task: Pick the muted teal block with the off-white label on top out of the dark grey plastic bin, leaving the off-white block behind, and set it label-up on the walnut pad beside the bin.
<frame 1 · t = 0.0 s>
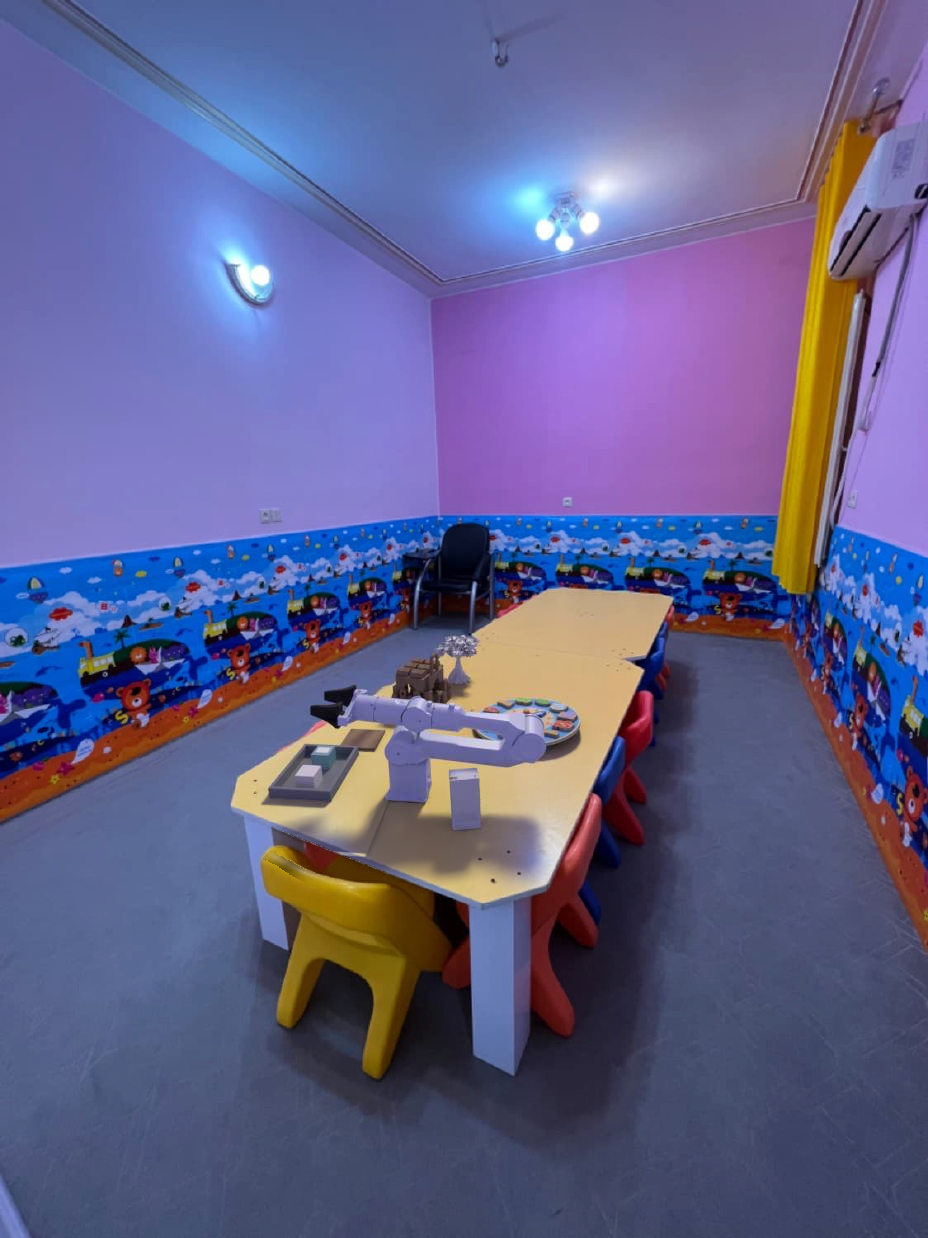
hand: (317, 702, 109), 22 cm above the table, tool horizontal, fingers open, 7 cm apart
tree: (458, 680, 176), on the table
labelled block: (324, 764, 123), resting on bin
pad: (363, 742, 135), on the table
skincare box: (465, 825, 101), on the table
shape sorting clock: (526, 729, 141), on the table
plain block: (309, 785, 115), resting on bin
brown wooden block structure: (422, 706, 156), on the table
bin: (317, 776, 119), on the table
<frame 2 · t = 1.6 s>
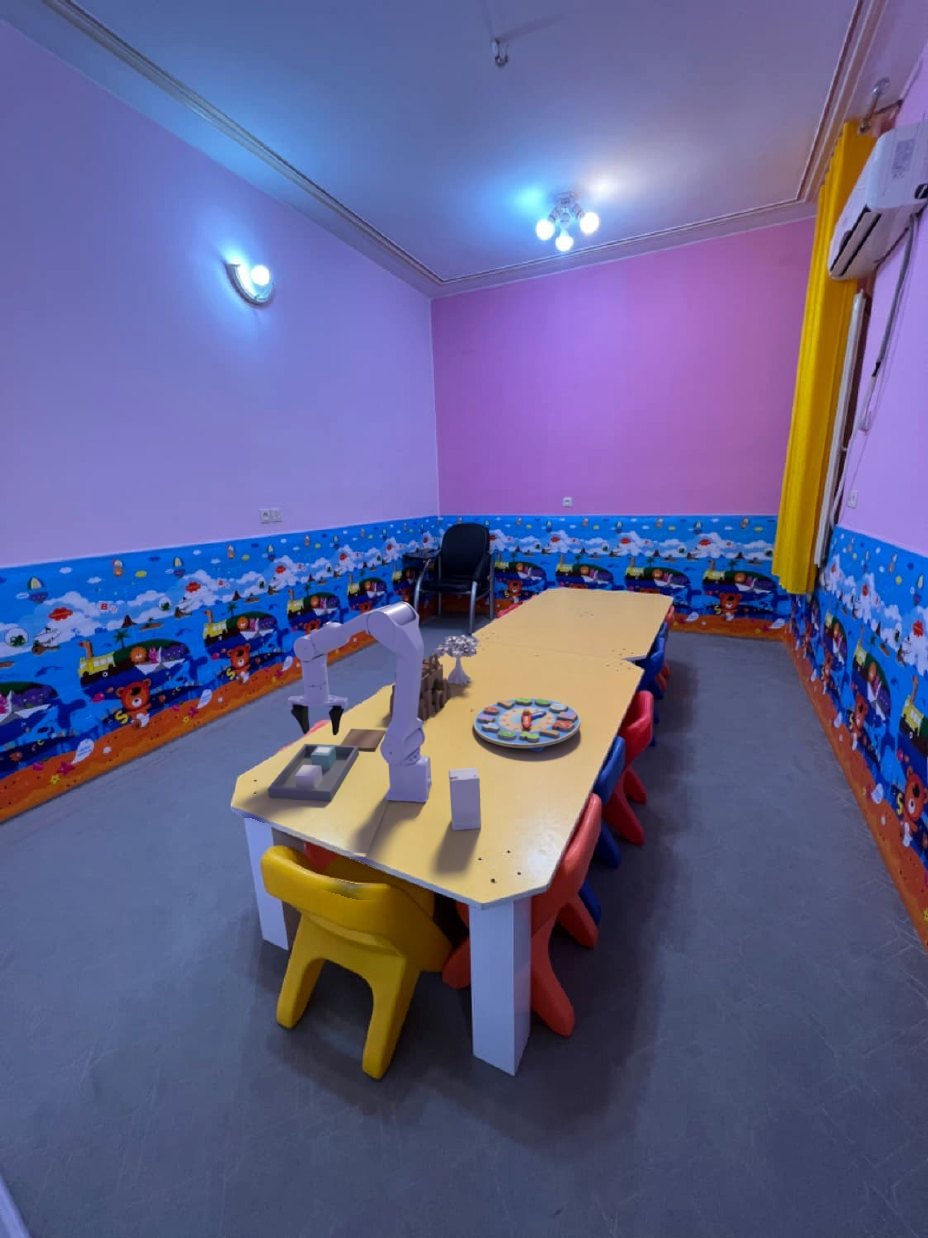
hand: (321, 732, 121), 9 cm above the table, tool pointing down, fingers open, 7 cm apart
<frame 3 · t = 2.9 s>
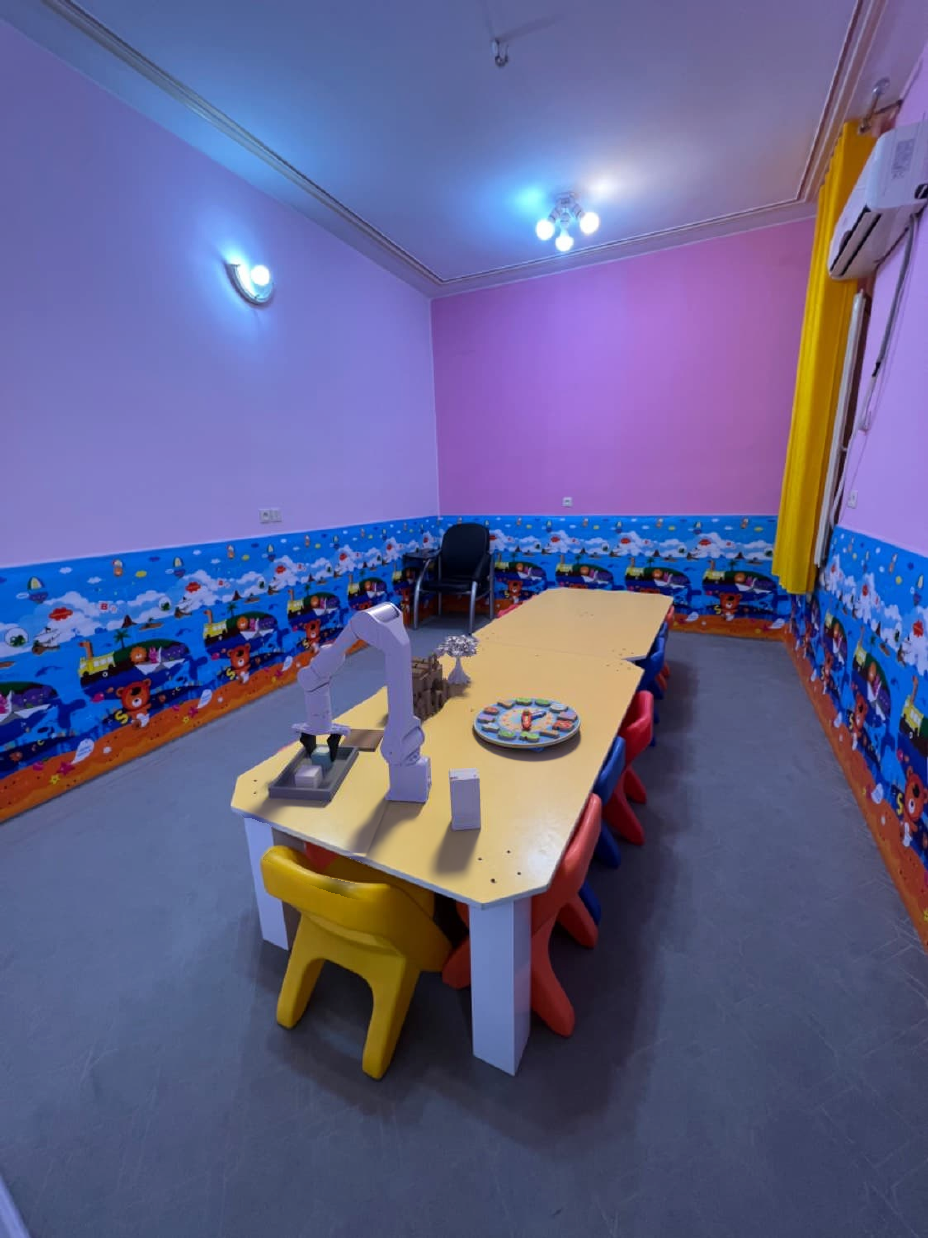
hand: (324, 759, 123), 2 cm above the table, tool pointing down, fingers closed on labelled block, 4 cm apart
labelled block: (324, 764, 123), resting on bin, touching gripper
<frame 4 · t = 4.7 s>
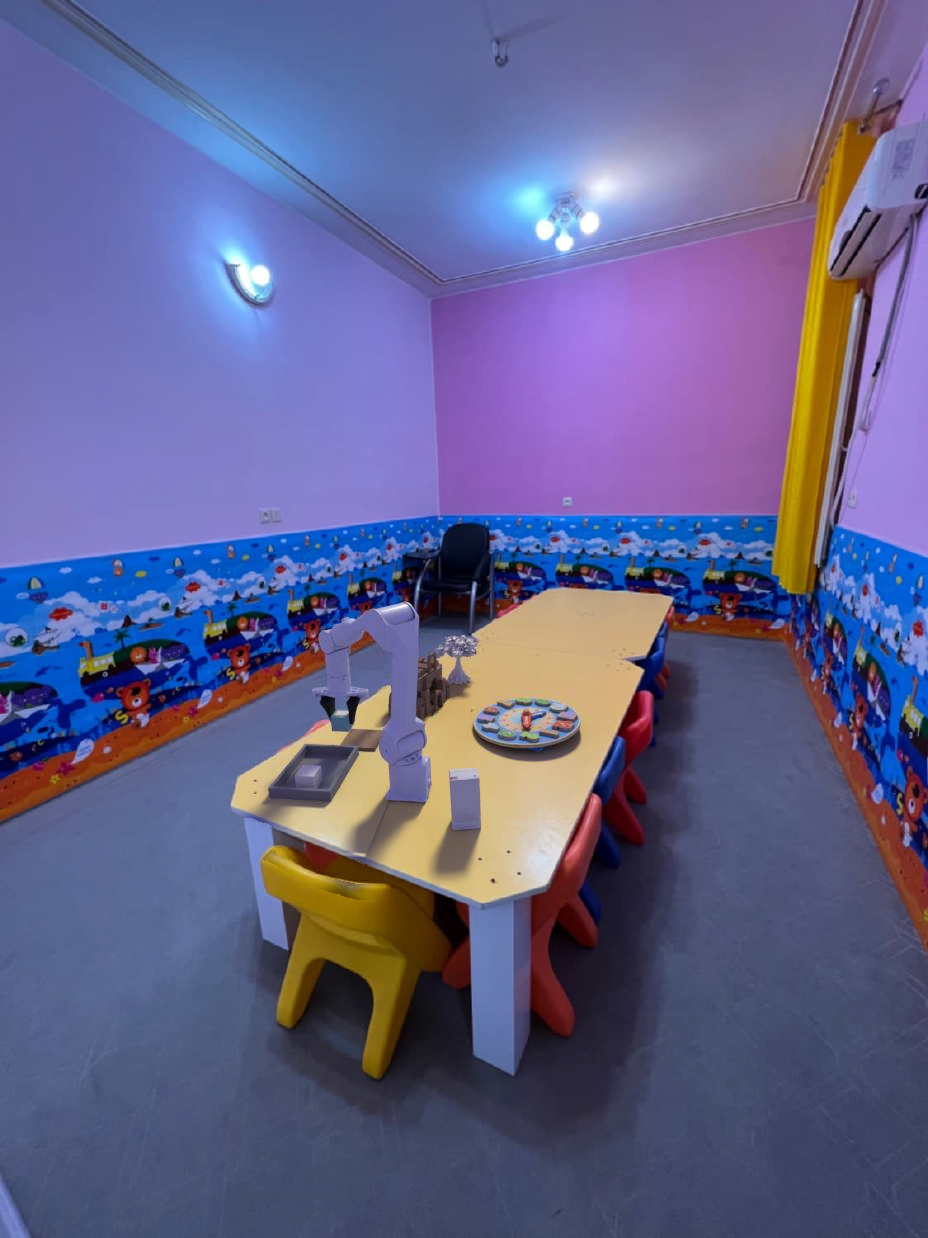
hand: (343, 722, 127), 9 cm above the table, tool pointing down, fingers closed on labelled block, 4 cm apart
labelled block: (343, 727, 127), point 8 cm above the table, touching gripper
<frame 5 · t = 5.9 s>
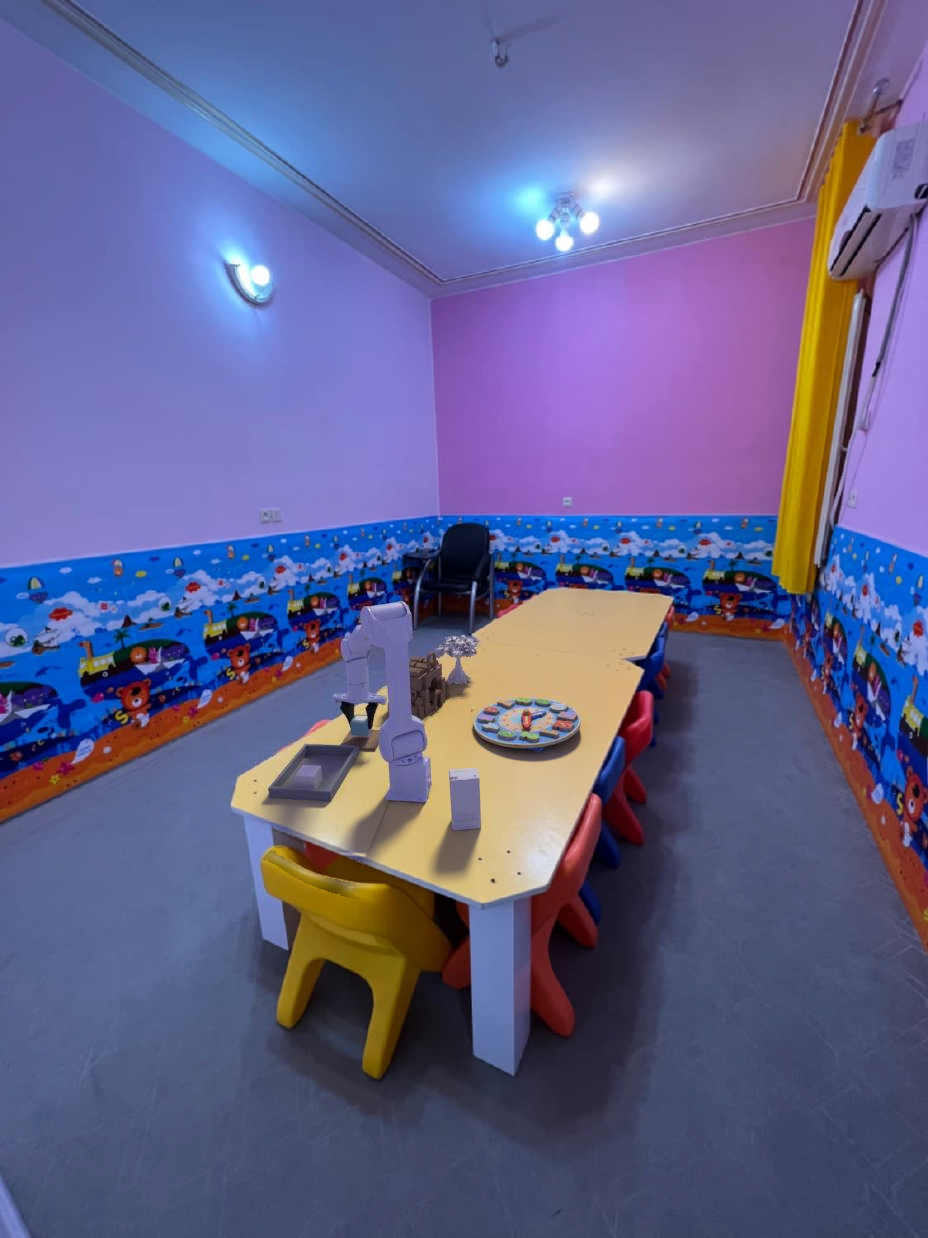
hand: (361, 727, 133), 5 cm above the table, tool pointing down, fingers closed on labelled block, 4 cm apart
labelled block: (362, 731, 134), point 3 cm above the table, touching gripper
when the fingers open (4 cm above the table, at t = 6.5 s): labelled block drops 1 cm, resting on pad.
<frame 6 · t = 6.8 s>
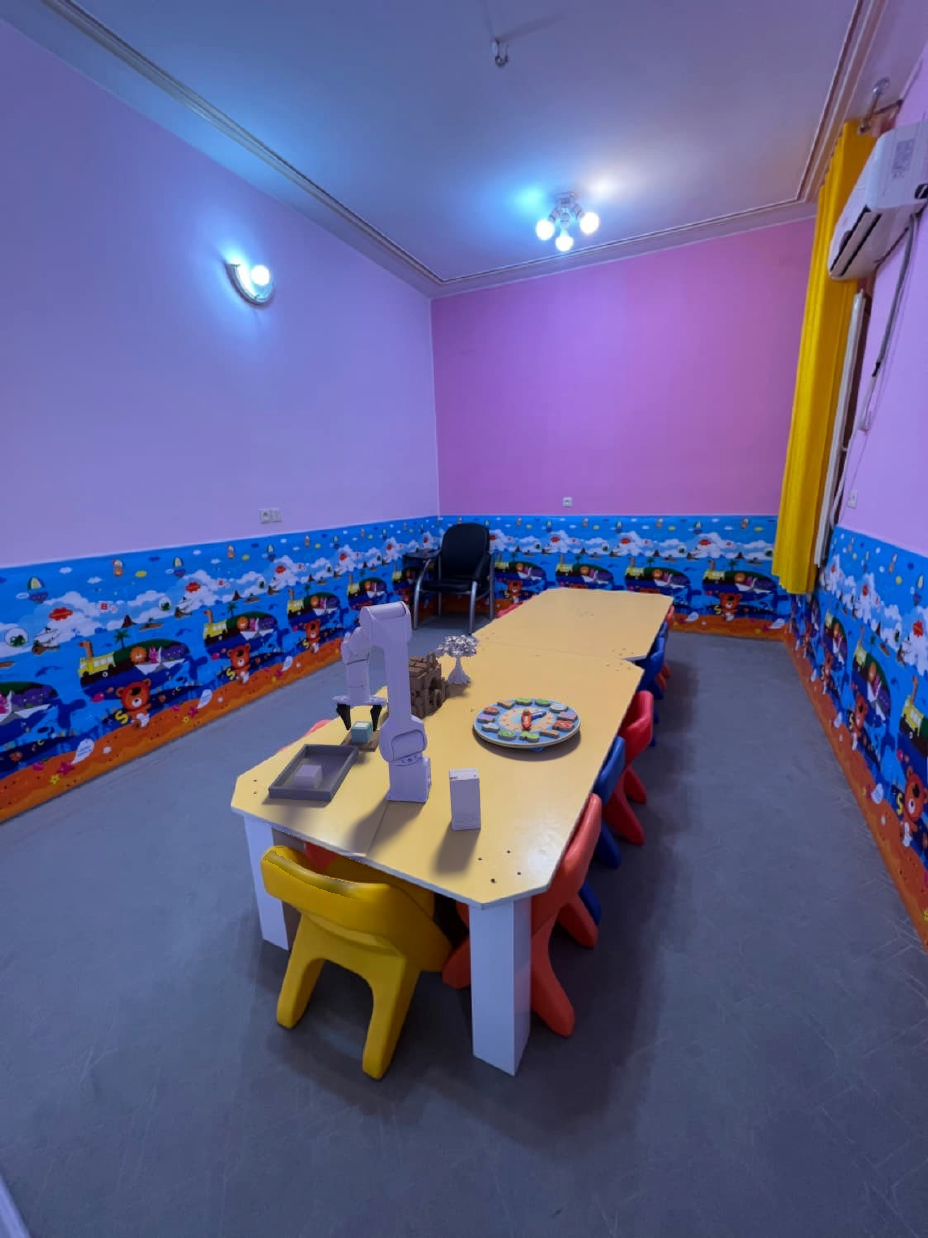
hand: (362, 729, 134), 4 cm above the table, tool pointing down, fingers open, 7 cm apart
labelled block: (362, 738, 134), point 1 cm above the table, touching pad
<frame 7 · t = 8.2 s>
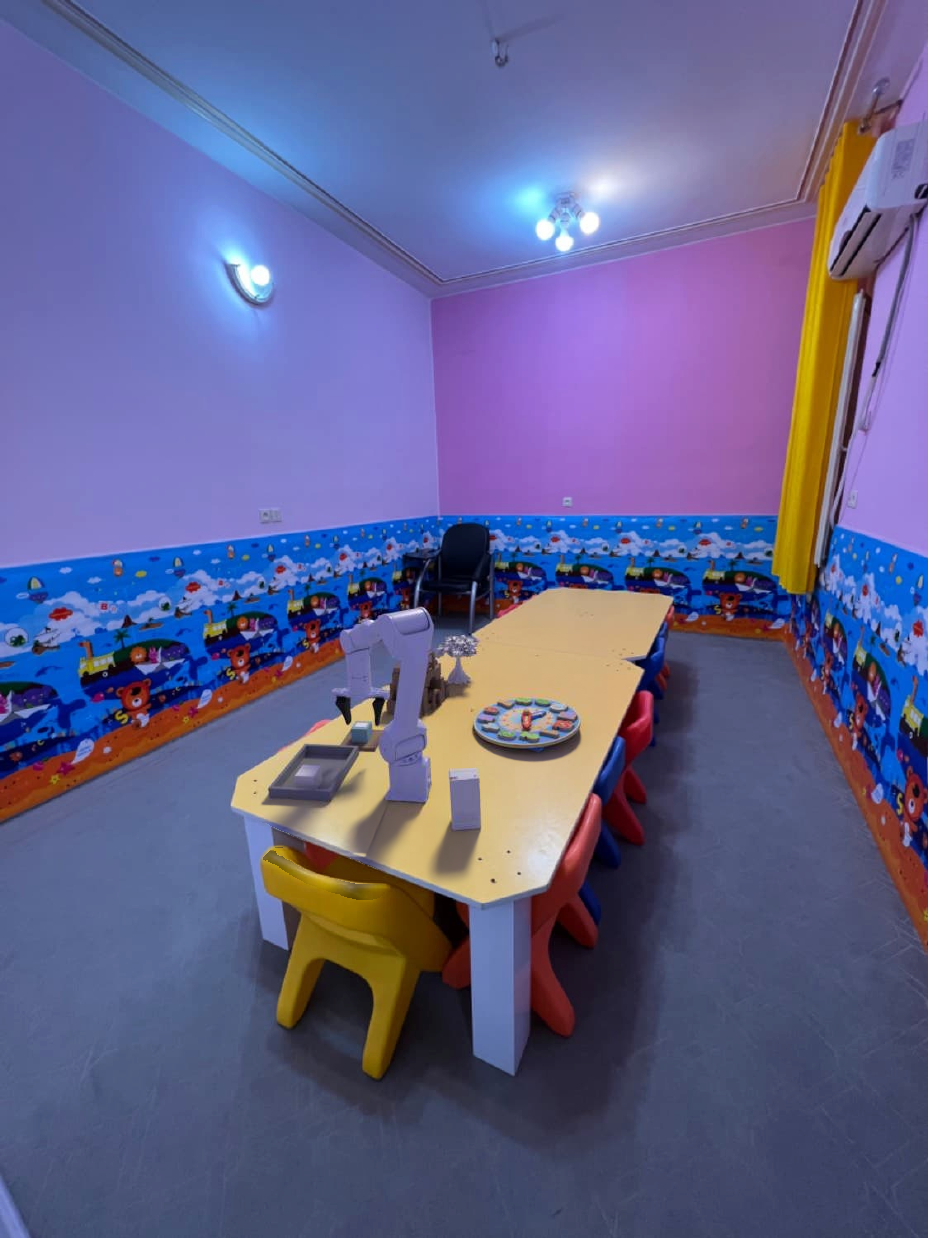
hand: (363, 723, 125), 9 cm above the table, tool pointing down, fingers open, 7 cm apart
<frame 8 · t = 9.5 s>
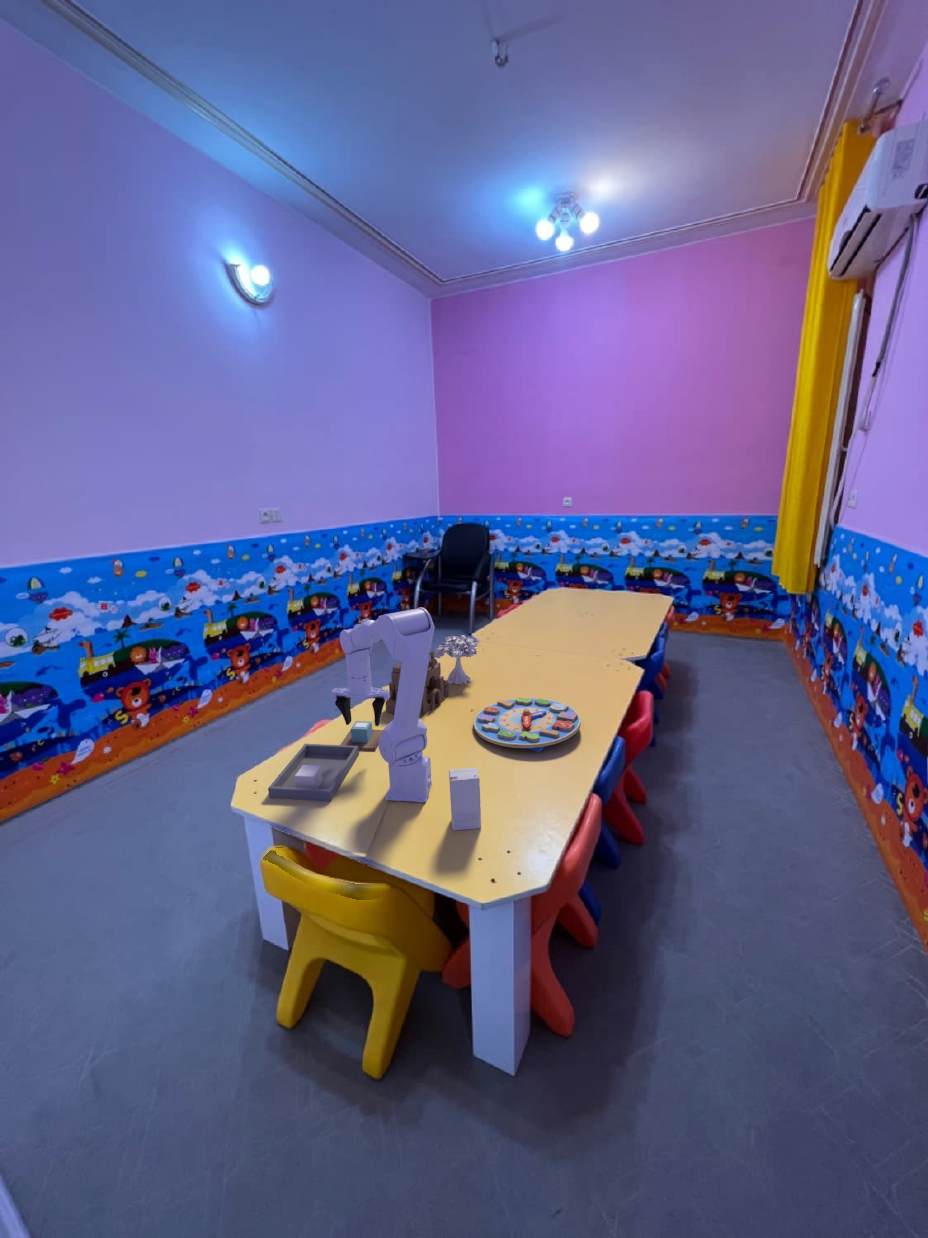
hand: (363, 723, 125), 9 cm above the table, tool pointing down, fingers open, 7 cm apart
at the end: labelled block inside the target area on the pad (0.1 cm from its centre), point 1.2 cm above the pad's base; labelled block tilted 0°; plain block moved 0.0 cm from its start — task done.
